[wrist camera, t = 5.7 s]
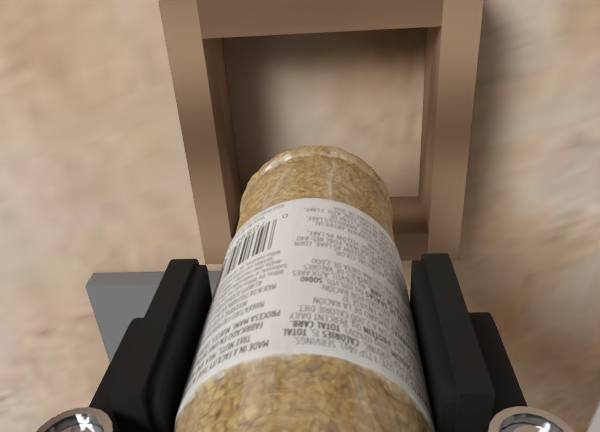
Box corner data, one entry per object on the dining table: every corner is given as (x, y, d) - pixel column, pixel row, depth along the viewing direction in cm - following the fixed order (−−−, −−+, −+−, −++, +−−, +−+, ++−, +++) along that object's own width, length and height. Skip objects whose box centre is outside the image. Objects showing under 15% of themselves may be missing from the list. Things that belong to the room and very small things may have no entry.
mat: (329, 428, 31) (329, 443, 30) (140, 427, 32) (135, 441, 31) (321, 269, 26) (320, 282, 25) (93, 273, 27) (85, 285, 26)
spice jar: (300, 295, 18) (243, 1014, 6) (209, 193, 16) (-99, 908, 5) (423, 225, 17) (646, 995, 5) (335, 106, 15) (350, 833, 3)
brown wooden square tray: (445, 220, 24) (458, 259, 21) (219, 225, 25) (205, 264, 22) (465, -30, 19) (485, -18, 16) (181, -13, 20) (158, 1, 17)
